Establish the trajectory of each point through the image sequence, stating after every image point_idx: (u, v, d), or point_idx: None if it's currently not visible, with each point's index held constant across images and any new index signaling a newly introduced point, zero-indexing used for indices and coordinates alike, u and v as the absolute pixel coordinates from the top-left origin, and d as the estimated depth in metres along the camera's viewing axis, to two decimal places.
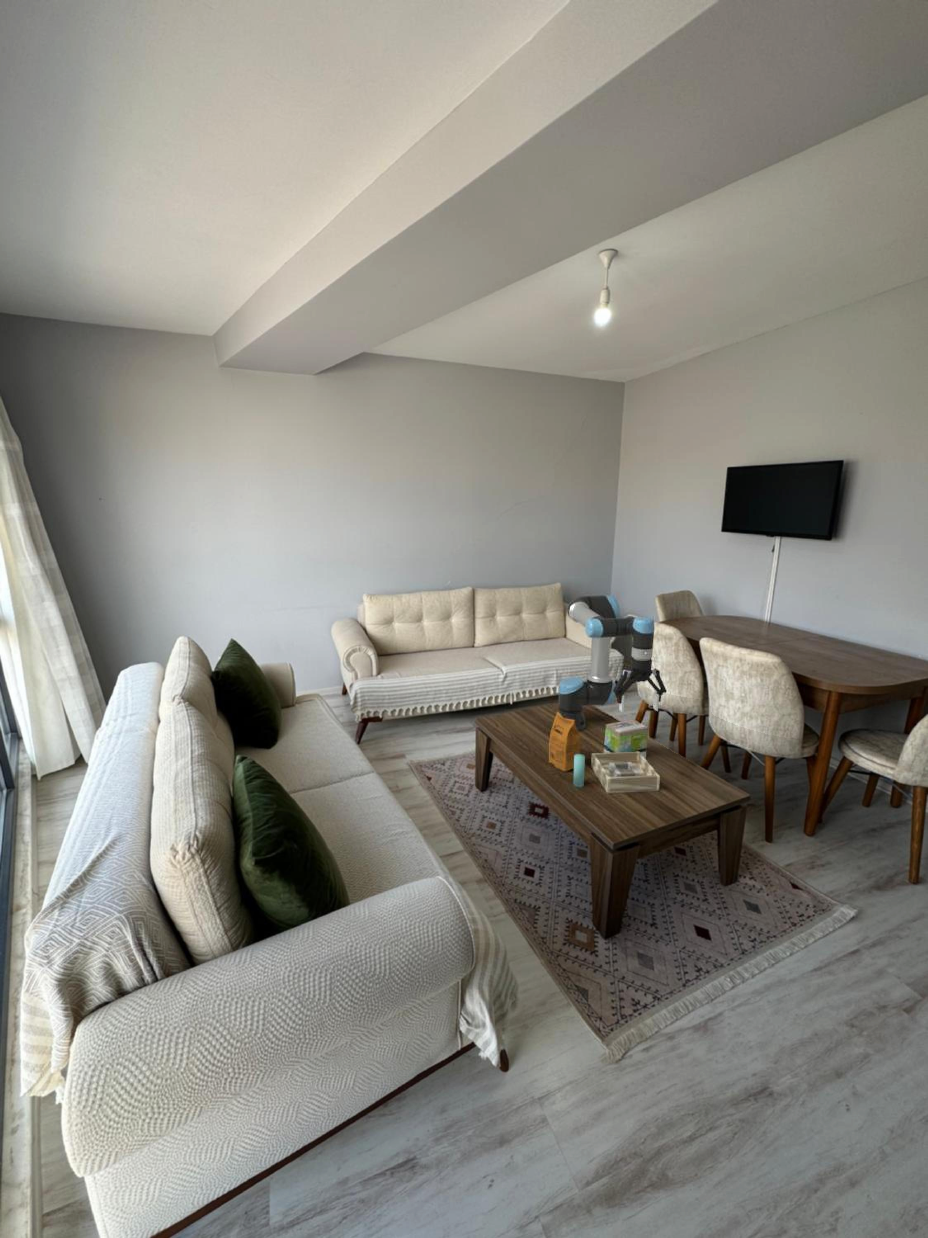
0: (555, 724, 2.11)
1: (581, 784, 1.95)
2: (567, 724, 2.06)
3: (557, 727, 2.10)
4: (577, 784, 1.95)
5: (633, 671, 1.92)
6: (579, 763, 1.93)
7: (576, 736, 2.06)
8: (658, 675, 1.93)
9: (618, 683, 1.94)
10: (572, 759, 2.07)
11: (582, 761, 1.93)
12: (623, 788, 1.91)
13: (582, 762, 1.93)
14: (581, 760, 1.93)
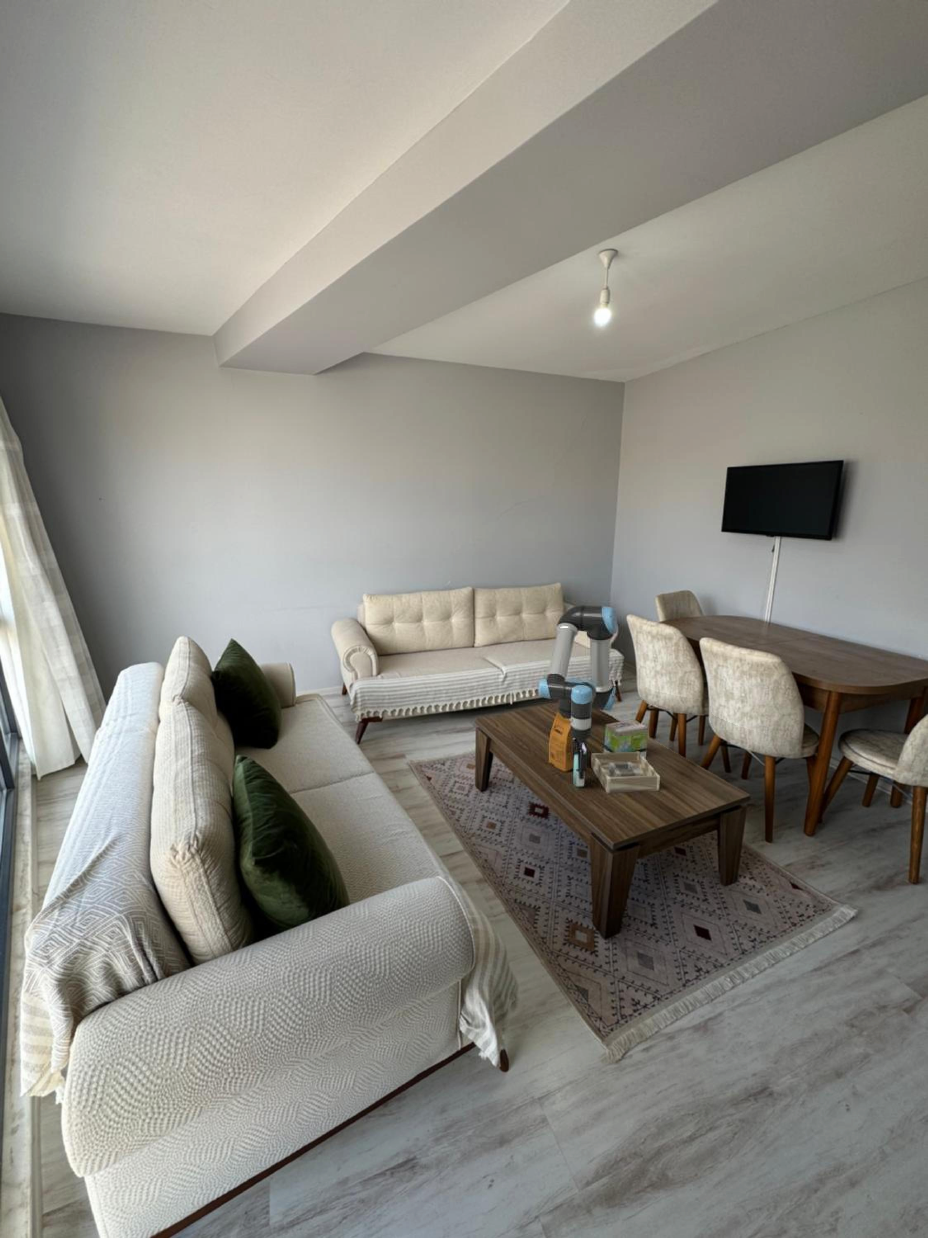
0: (555, 724, 2.11)
1: None
2: (567, 724, 2.06)
3: (557, 727, 2.10)
4: None
5: None
6: None
7: None
8: (581, 753, 1.88)
9: None
10: (572, 759, 2.07)
11: None
12: (623, 788, 1.91)
13: None
14: None
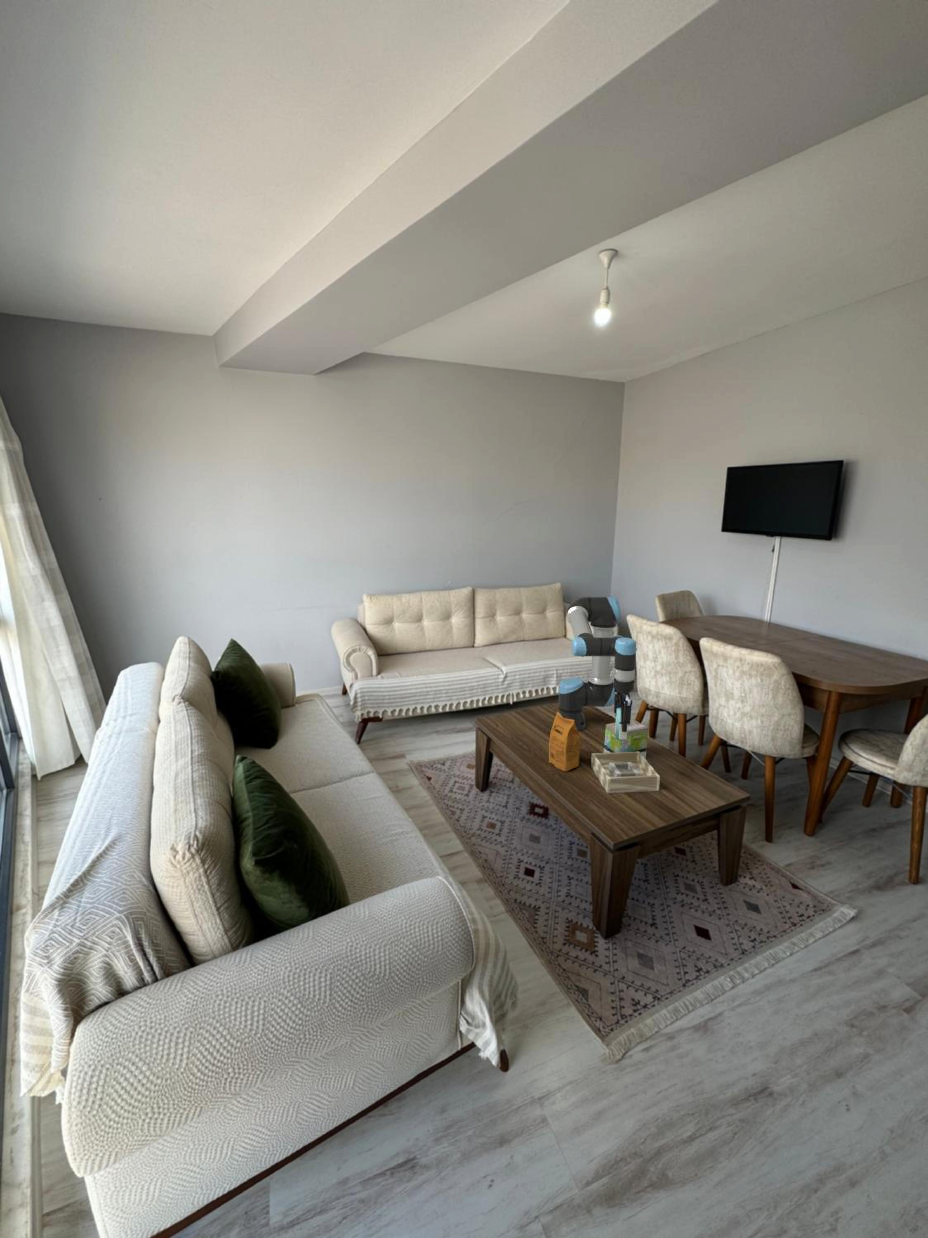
0: (555, 724, 2.11)
1: None
2: (567, 724, 2.06)
3: (557, 727, 2.10)
4: None
5: None
6: None
7: (576, 736, 2.06)
8: (624, 705, 1.88)
9: None
10: (572, 759, 2.07)
11: None
12: (623, 788, 1.91)
13: None
14: None
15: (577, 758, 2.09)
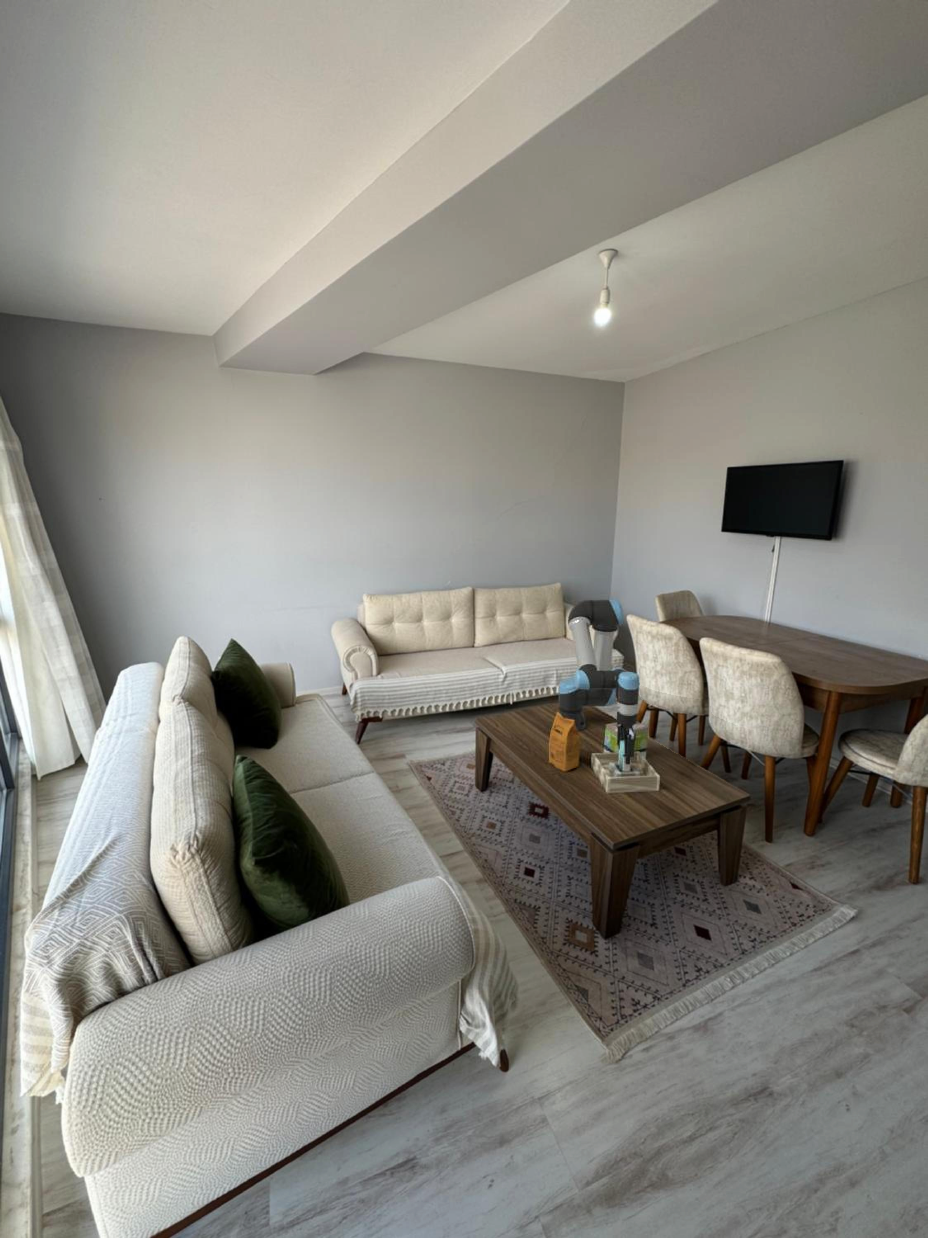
0: (555, 724, 2.11)
1: None
2: (567, 724, 2.06)
3: (557, 727, 2.10)
4: None
5: None
6: None
7: (576, 736, 2.06)
8: (628, 738, 1.91)
9: None
10: (572, 759, 2.07)
11: None
12: (623, 788, 1.91)
13: None
14: None
15: (577, 758, 2.09)
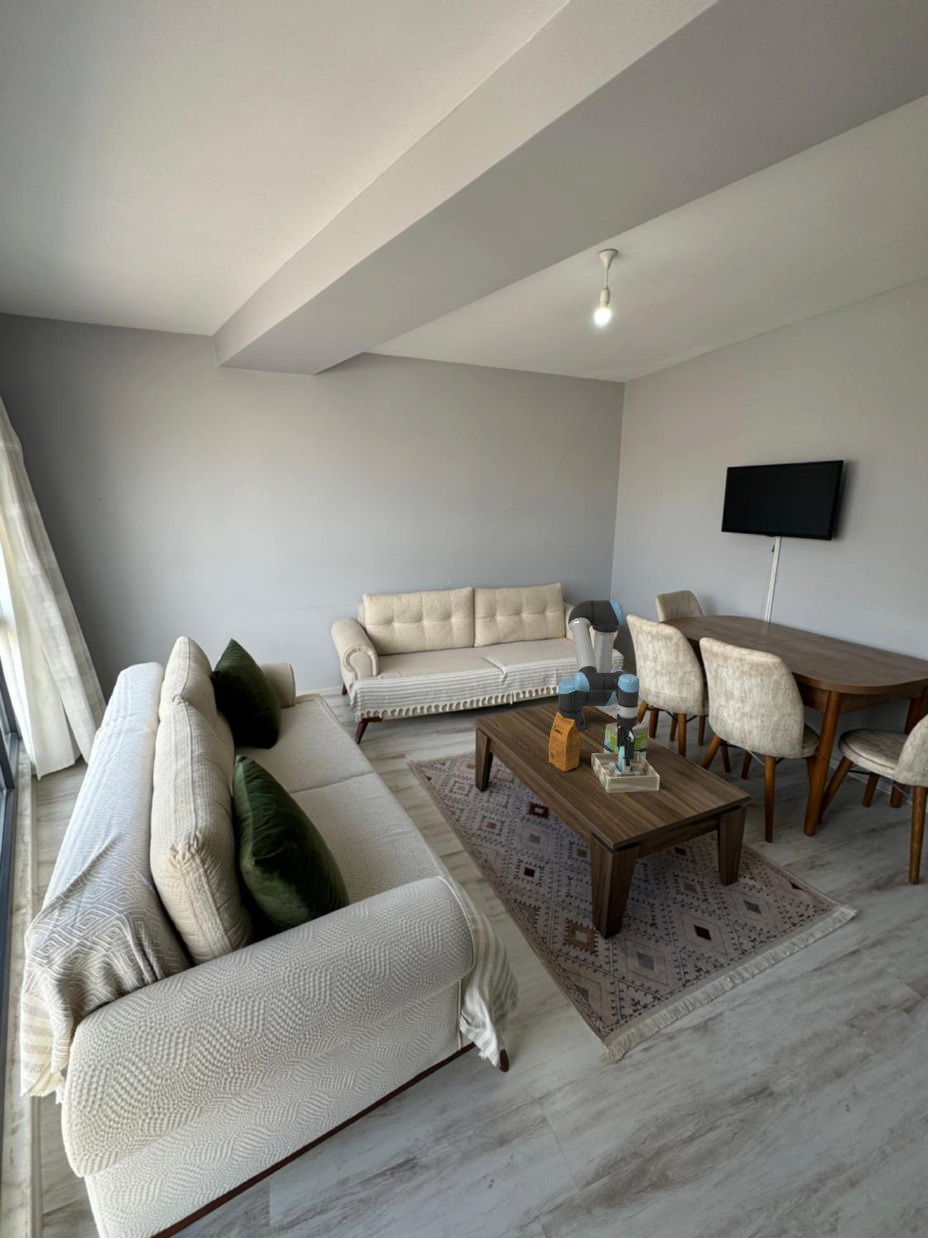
0: (555, 724, 2.11)
1: None
2: (567, 724, 2.06)
3: (557, 727, 2.10)
4: None
5: None
6: None
7: (576, 736, 2.06)
8: (628, 741, 1.91)
9: None
10: (572, 759, 2.07)
11: None
12: (623, 788, 1.91)
13: None
14: None
15: (577, 758, 2.09)
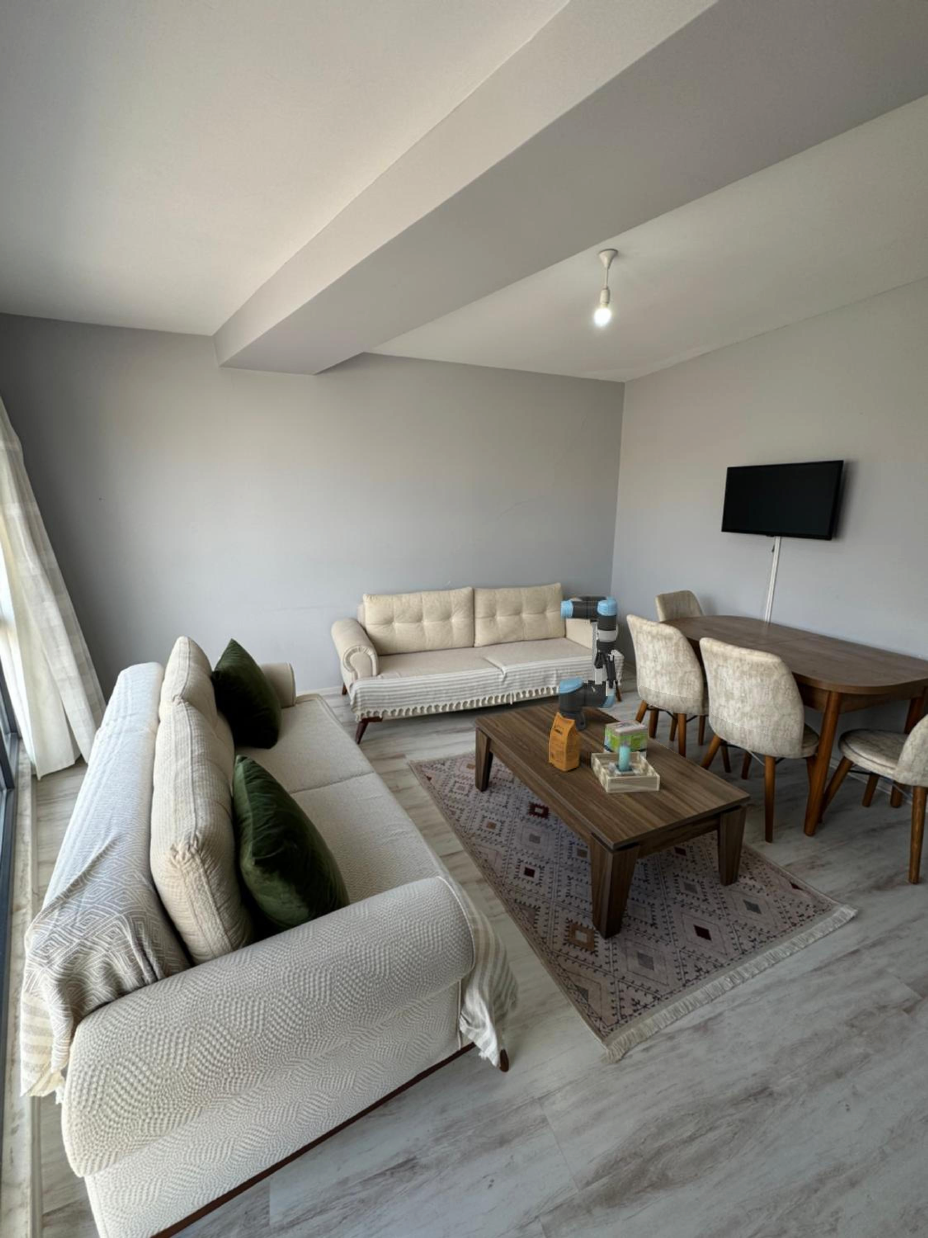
0: (555, 724, 2.11)
1: None
2: (567, 724, 2.06)
3: (557, 727, 2.10)
4: None
5: None
6: (625, 754, 1.97)
7: (576, 736, 2.06)
8: (608, 660, 1.97)
9: None
10: (572, 759, 2.07)
11: (628, 753, 1.97)
12: (623, 788, 1.91)
13: (628, 754, 1.97)
14: (627, 752, 1.96)
15: (577, 758, 2.09)
